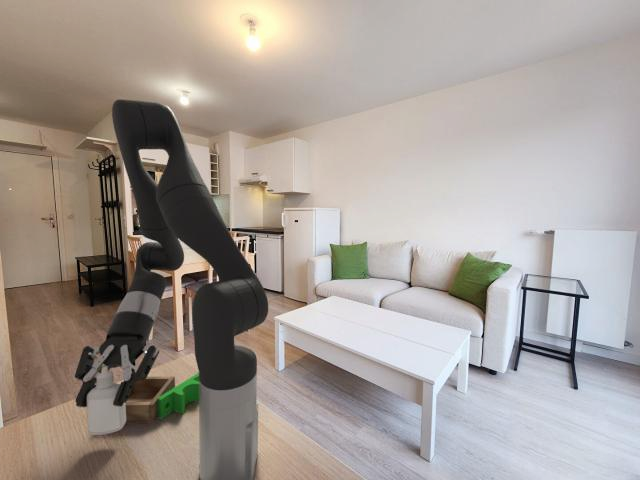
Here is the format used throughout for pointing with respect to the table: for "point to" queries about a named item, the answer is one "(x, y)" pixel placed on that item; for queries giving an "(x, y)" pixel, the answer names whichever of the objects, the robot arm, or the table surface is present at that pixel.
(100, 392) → the eye dropper bottle
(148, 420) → the box
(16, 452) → the table surface
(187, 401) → the pipe clamp
